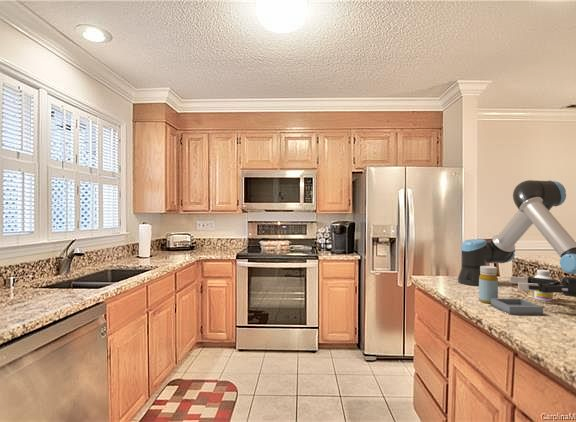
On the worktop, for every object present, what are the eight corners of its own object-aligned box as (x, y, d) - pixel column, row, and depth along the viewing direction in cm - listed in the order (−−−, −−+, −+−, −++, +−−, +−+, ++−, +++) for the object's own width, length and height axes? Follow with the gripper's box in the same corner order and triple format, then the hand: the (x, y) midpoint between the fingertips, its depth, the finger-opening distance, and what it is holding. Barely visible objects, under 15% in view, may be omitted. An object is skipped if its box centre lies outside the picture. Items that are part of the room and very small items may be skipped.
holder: (490, 305, 144) (490, 298, 144) (521, 305, 144) (521, 298, 144) (509, 314, 131) (509, 306, 131) (542, 315, 131) (542, 307, 131)
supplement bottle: (556, 302, 150) (556, 272, 150) (538, 301, 152) (538, 271, 152) (547, 298, 157) (548, 269, 157) (531, 297, 158) (531, 268, 158)
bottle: (481, 299, 154) (482, 265, 154) (499, 302, 150) (500, 267, 149) (476, 301, 150) (476, 266, 150) (494, 305, 145) (495, 268, 145)
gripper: (590, 304, 127) (522, 298, 135) (563, 289, 151) (506, 285, 158) (590, 283, 127) (522, 279, 134) (564, 272, 150) (507, 269, 158)
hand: (513, 282), depth 146 cm, fingers open, 13 cm apart
